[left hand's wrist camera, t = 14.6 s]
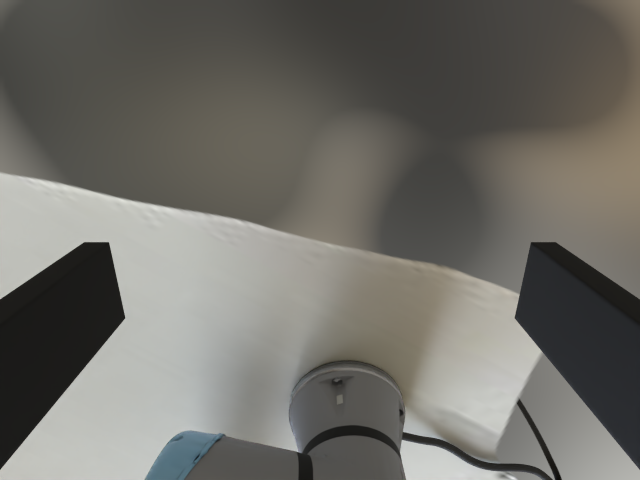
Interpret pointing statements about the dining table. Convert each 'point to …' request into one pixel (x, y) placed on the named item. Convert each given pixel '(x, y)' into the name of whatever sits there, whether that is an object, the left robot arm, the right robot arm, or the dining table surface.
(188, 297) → the dining table surface
